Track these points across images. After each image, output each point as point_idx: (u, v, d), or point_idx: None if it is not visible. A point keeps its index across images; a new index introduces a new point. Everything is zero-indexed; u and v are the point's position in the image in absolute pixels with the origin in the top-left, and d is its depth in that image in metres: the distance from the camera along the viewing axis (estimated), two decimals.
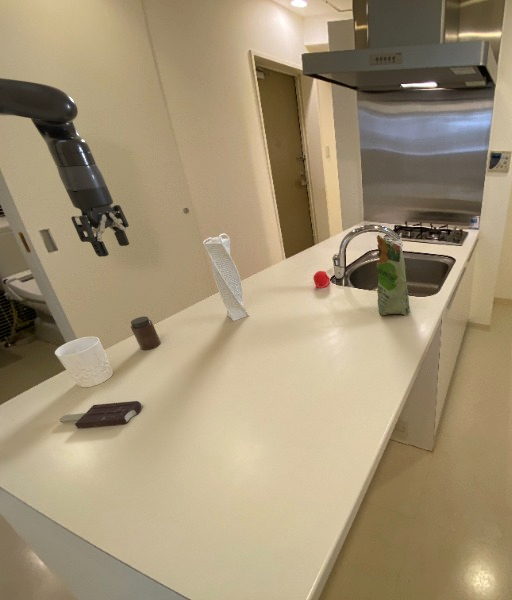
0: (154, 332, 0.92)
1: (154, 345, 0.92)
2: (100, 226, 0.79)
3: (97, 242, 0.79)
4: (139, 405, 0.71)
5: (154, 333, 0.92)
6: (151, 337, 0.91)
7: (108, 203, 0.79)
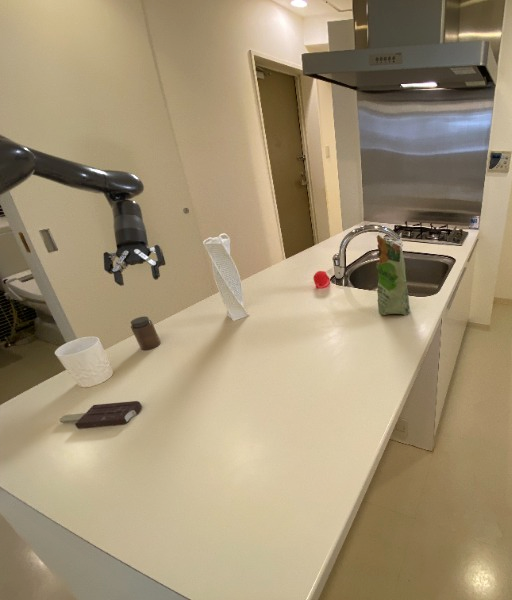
0: (154, 332, 0.92)
1: (154, 345, 0.92)
2: None
3: None
4: (139, 405, 0.71)
5: (154, 333, 0.92)
6: (151, 337, 0.91)
7: None
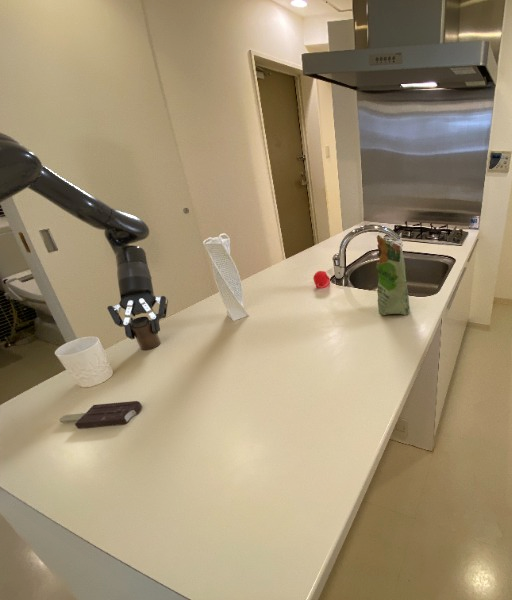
0: None
1: (154, 345, 0.92)
2: None
3: None
4: (139, 405, 0.71)
5: None
6: (151, 337, 0.91)
7: None
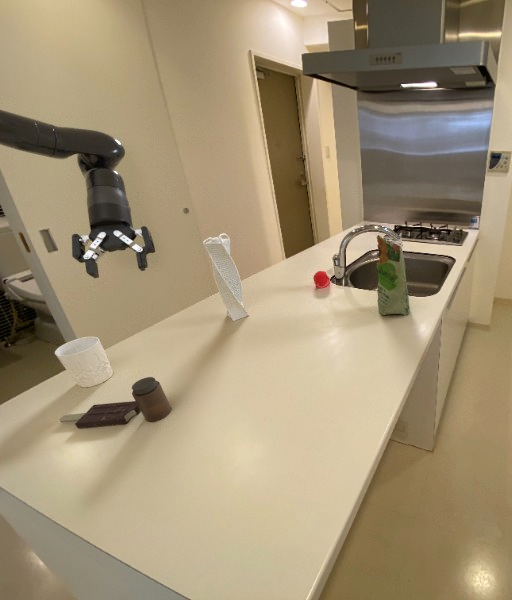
0: (163, 397, 0.69)
1: (163, 415, 0.69)
2: None
3: None
4: None
5: (163, 399, 0.69)
6: (160, 405, 0.68)
7: None
